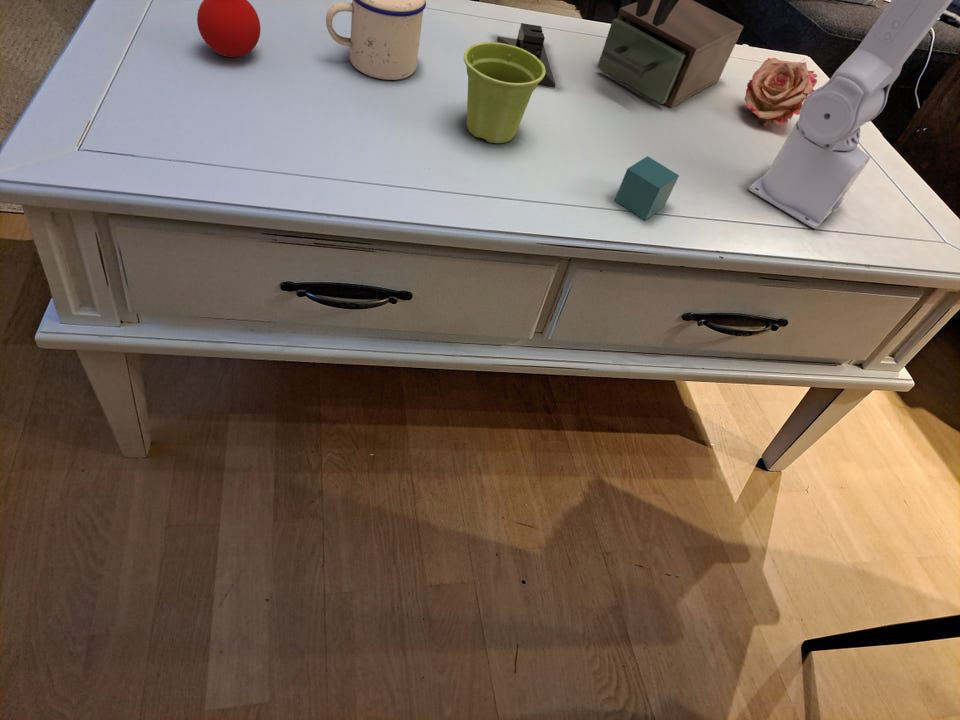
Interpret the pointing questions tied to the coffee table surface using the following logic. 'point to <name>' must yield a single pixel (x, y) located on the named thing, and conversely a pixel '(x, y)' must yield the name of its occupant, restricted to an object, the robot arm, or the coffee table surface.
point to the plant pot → (499, 88)
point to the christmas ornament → (229, 26)
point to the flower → (779, 90)
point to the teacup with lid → (382, 35)
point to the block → (646, 187)
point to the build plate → (532, 48)
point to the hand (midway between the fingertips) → (649, 19)
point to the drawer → (642, 59)
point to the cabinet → (692, 43)
